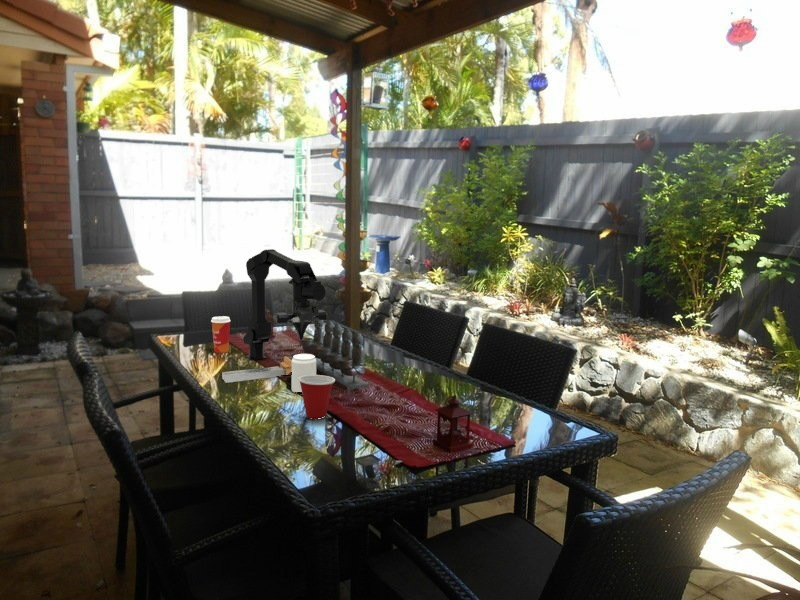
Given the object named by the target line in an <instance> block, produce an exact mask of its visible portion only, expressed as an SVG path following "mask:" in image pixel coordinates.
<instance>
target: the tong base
mask: <svg viewBox="0 0 800 600" xmlns="http://www.w3.org/2000/svg"><path fill="white" fill-rule="evenodd" d="M281 375H286V369H285V368H284V367H283V366H281V368H280V367H279V368H276V369H267V370H258V371H249V372H240V373H231V374H224V380H223V381H224V383H225V384H228V383H237V382H246V381H251V380H252V381H253V380H262V379H269V378H277V377H276V376H279V377H282V376H281Z"/></svg>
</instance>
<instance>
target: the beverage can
mask: <svg viewBox="0 0 800 600" xmlns="http://www.w3.org/2000/svg"><path fill="white" fill-rule="evenodd" d="M291 360H292V375H291V391H292V392H293V393H295V392H302V389H301V385H300V381H299V377H301V376H305V375H317V359H316V356H315V355H314V354H311V353H299V354H294V355H293V357H292V359H291Z"/></svg>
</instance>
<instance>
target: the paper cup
mask: <svg viewBox="0 0 800 600" xmlns="http://www.w3.org/2000/svg"><path fill="white" fill-rule="evenodd" d="M231 321H232V320H231V319H230V316H226V315H225V316H224V315H222V316H221V315H220V316H219V315H218V316H213V317H211V320H210V322H211V328H212V329H211V331H212V342H213V351H214V353H215V354H226V353H228V352H229V348H230V347H229V346H230V331H231V330H230V328H231V327H230V325H231Z"/></svg>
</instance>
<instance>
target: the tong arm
mask: <svg viewBox="0 0 800 600" xmlns="http://www.w3.org/2000/svg"><path fill="white" fill-rule="evenodd" d="M276 368H280V366H278V365H277V366H271V367H270V366H269V367H261V368H250V369H249V368H248V369H242V370H231V371H222V373H221V374H222V375H221V376H222V380H223V381H224V374H231V373H240V372H249V371H258V370H267V369H276Z"/></svg>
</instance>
